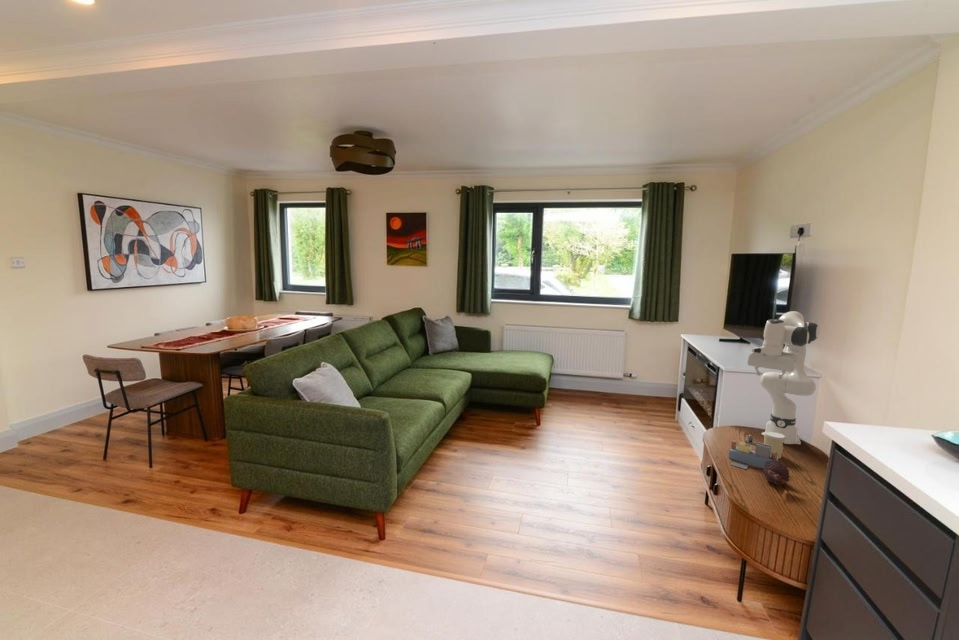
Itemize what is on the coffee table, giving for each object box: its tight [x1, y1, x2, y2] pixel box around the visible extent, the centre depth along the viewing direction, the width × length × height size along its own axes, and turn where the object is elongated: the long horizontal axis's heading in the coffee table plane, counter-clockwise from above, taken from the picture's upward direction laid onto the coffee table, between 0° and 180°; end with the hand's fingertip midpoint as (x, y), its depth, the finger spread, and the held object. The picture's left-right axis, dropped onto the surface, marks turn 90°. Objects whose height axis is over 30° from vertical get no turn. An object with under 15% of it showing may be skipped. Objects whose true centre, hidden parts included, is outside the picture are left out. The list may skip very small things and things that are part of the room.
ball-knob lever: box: [744, 434, 764, 447], centre depth 215 cm, size 2×8×4 cm, turn 47°
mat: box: [730, 460, 750, 470], centre depth 213 cm, size 6×7×1 cm
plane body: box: [728, 439, 779, 470], centre depth 216 cm, size 8×20×11 cm, turn 47°
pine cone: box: [762, 460, 790, 486], centre depth 196 cm, size 18×10×10 cm, turn 159°
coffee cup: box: [763, 431, 785, 459], centre depth 225 cm, size 9×9×12 cm
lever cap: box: [737, 440, 753, 454], centre depth 218 cm, size 5×5×4 cm
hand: (769, 377), depth 218 cm, fingers open, 8 cm apart
